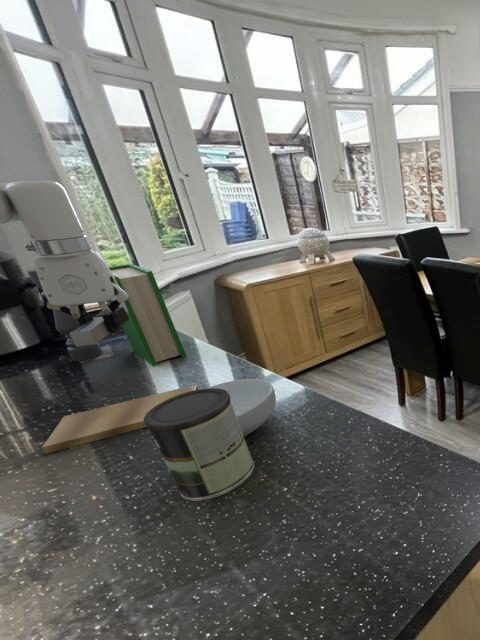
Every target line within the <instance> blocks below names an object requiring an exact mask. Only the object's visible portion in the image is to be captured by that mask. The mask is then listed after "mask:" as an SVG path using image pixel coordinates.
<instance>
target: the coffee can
mask: <svg viewBox="0 0 480 640" xmlns="http://www.w3.org/2000/svg"><path fill="white" fill-rule="evenodd" d="M207 388H208V389H206V388H201V389H198V390H195V391H190V392H187V393H183V394H180V395H177V396H175V397H172V398H170V399H168V400H165V401H164V402H162V403H160V404H158V405H156V406H155V407H153V408H152V409H151V410H150V411H149V412H147V414H146V415H145V417H144V423H145V424H146V426H147V427H146V428H148V430H149V432H150V434H151V437H152V439H153V440H154V442H155V444H156V446H157V449H158V450H159V453H160V454H161V457H162V458H163V460H164V463H165V465H166V467H167V468H168V471H169V472H170V475H171V476H172V479H173V481H174V483H175V485H176V487H177V489H178V491H179V494H180V496H181V497H182V498H183V499H184V500H186V501H190V502H203V501H208V500H212V499H214V498H218V497H221V496H223V495H225V494H227V493H230V492H231V491H233V490H235V489H236V488H238V487H240V486H241V485H242V484H243V483H244V482H245V481H246V480H247V479H249V477H250V476H251V475H252V473H253V471H254V469H255V462H254V460H253V458H252V455H251V453H250V450H249V447H248V445H247V442H246V439H245V437H244V436H243V433H242V431H241V428H240V425H239V423H238V420H237V417H236V415H235V412H234V409H233V407H232V404H231V401H230V395H229V393H228V392H227V391H226V390H223V389H218V388H209V387H207Z"/></svg>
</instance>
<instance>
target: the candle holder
mask: <svg viewBox="0 0 480 640" xmlns="http://www.w3.org/2000/svg"><path fill="white" fill-rule="evenodd" d="M26 272H27V274H28V276H29V278H30V280H31V282H32V283H33V284H34V285H35V286H36V287H37V288H39V289H40V290H42V292H41V293H40V296H41V297H43V298H45V299H47V297H46V295H45V293H44V290H43V288H42V286H41V283H40V280H39V278H38V274H37V271H36V268H31V269H29V270H28V269H27V270H26ZM52 314H53V319H54V324H55V329H56V331H57V332H58V333H60V334H61V335H64V336H65V338H67V339H66V342H65V345H66V347H67V349H66V350H67V352H68V354H69V356H70V358H71V359H72V361H73V362H82V361H87V360H91V359H94V358H98V357H100V356H102V355H103V354H104V351H103V349H102V347H101V346H100V343H99V342H98V343H96V344H93V345H86V346H79V347H76V345H75V343H74V342H73V340H72V338H71V336H70V334H69V333H70V332H72V331H74V330H75V329H77V328H79V327H80V326H81V325H80V323H79V321H78V319H75V318H73V317H72V316H71V315H69V314H67V313H64V312H62V311H58V310H54V309H52Z"/></svg>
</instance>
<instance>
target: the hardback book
mask: <svg viewBox="0 0 480 640" xmlns="http://www.w3.org/2000/svg"><path fill="white" fill-rule="evenodd" d="M108 267H109V269H110V271H111V272H112V274H113V276H114V278H115V280H116V282H117V284H118V286H119V287H120V288H121V289H122V290H123V291H125V292H126V293H127V294H128V295H129V296H130V298H129V299H128V300H126V301H124V302H123V303H121V304H120V306H119V307H124V309H125V311H126V313H127V316H128V318H129V320H128V321H127V322H125V323H124V324H123V325H121V327H122V329H123V331H124V334H125V335H126V338H127V340H128V342H129V344H130V347H131V348H132V351H133V352H134V353H135V354H136V355H137V356H139V357H140V358H141V359H143V360H144V361H145V362H147V363H148V364H149V365H151V366H152V367H156V366H158V362H162V361H164V360H168V359H171V358H175V357H178V356H180V357H181V358H185V357H187V354H186V352H185V349H184V347H183V344H182V342H181V339H180V337H179V334H178V331H177V329H176V327H175V324H174V322H173V319H172V317H171V315H170V312H169V309H168V307H167V305H166V303H165V300H164V297H163V294H162V292H161V290H160V288H159V285H158V283H157V280H156V278H155V275H154V273H153V271H152V270H151V269H148V268H145V267H142V266H140V265H136V264H134V263H128V264H127V263H126V264H122V265H121V264H120V265H115V266H114V265H113V266H108ZM115 299H117V296H114V297H113V298H112V301H114V300H115ZM119 307H118V308H119Z"/></svg>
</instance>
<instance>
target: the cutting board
mask: <svg viewBox="0 0 480 640" xmlns="http://www.w3.org/2000/svg"><path fill="white" fill-rule="evenodd" d="M195 390H199V387H198V385H197V384H193V385H190V386H185V387H180V388H176V389H172V390H168V391H163V392H159V393H155V394H151V395H147V396H143V397H139V398H135V399H131V400H125V401H122V402H118V403H114V404H110V405H106V406H102V407H97V408H93V409H89V410H85V411H81V412H77V413H72V414H68V415H64V416H63V417H62V418H61V420H60V421H59V423H57V425H56V427H55V428H54V429H53V431H52V432H51V434H50V435H49V437H48V438H47V439H46V441H45V442H44V443H43V444H42V446H41V449H42V451H43V453H44V454H45V455H47V454H51V453H55V452H58V451H63V450H66V449H69V448H73V447H77V446H80V445H85V444H89V443H92V442H95V441H99V440H103V439H107V438H110V437H114V436H118V435H121V434H127V433H129V432H134V431H137V430H141V429H144V428H148V427H147V426H146V424H145V423H144V417H145V415H146V414H147V412H149V411H150V410H151V409H152V408H153V407H155V406H156V405H158V404H160V403H162V402H164V401H165V400H168V399H170V398H172V397H175V396H177V395H180V394H183V393H187V392H190V391H195Z"/></svg>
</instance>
